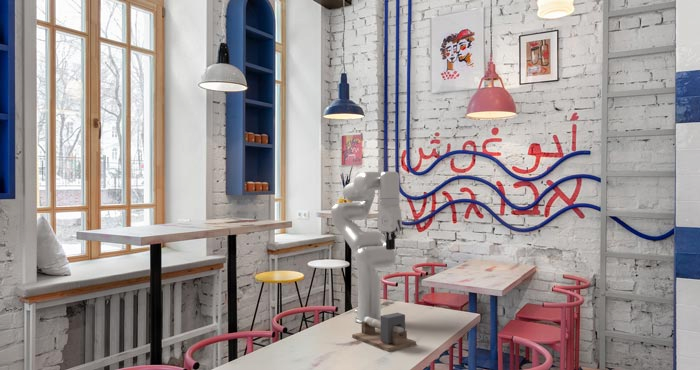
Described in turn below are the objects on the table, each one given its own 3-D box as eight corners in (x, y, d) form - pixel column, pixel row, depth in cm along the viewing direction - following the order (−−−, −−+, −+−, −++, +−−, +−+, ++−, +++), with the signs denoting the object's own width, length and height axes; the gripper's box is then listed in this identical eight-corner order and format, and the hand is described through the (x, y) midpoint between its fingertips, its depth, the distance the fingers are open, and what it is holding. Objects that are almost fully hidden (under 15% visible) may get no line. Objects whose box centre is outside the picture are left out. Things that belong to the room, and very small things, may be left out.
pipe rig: (352, 337, 188) (352, 318, 188) (379, 331, 195) (379, 313, 195) (388, 351, 171) (387, 330, 171) (416, 344, 178) (415, 324, 178)
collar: (380, 341, 178) (380, 315, 178) (397, 337, 183) (397, 312, 183) (388, 343, 175) (387, 318, 175) (405, 339, 179) (404, 314, 179)
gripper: (370, 202, 201) (371, 248, 201) (395, 203, 189) (395, 251, 189) (385, 202, 205) (385, 247, 205) (409, 202, 193) (410, 250, 193)
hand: (390, 249), depth 197 cm, fingers closed
